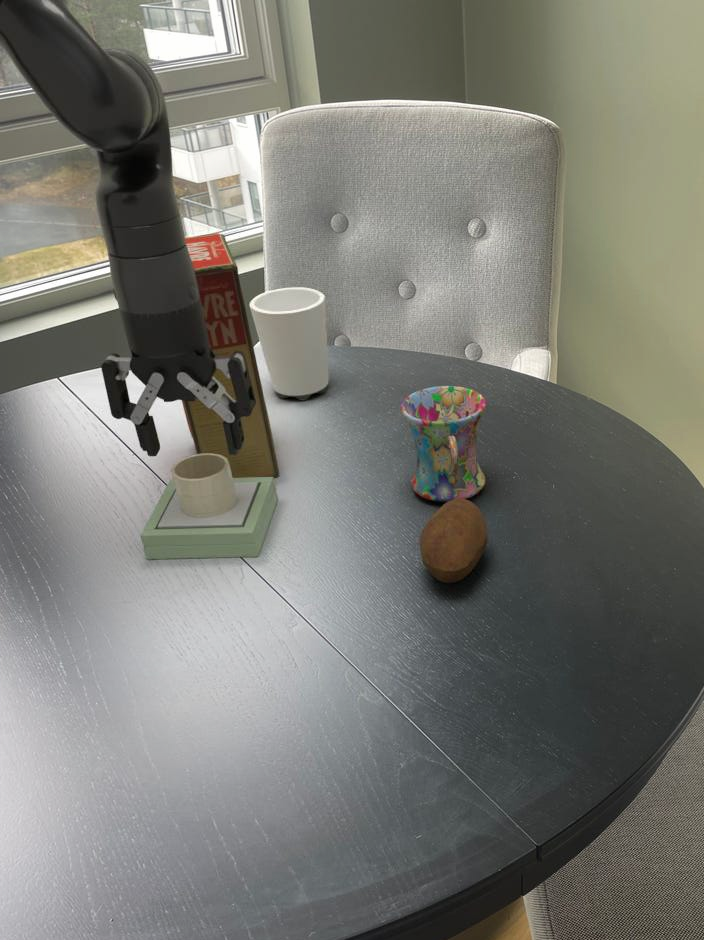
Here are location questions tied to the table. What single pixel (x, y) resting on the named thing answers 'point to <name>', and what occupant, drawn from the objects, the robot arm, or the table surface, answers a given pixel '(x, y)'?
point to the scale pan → (228, 519)
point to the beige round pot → (204, 485)
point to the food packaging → (225, 338)
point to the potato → (453, 540)
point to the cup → (293, 339)
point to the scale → (212, 529)
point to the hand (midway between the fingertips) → (194, 452)
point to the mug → (445, 441)
